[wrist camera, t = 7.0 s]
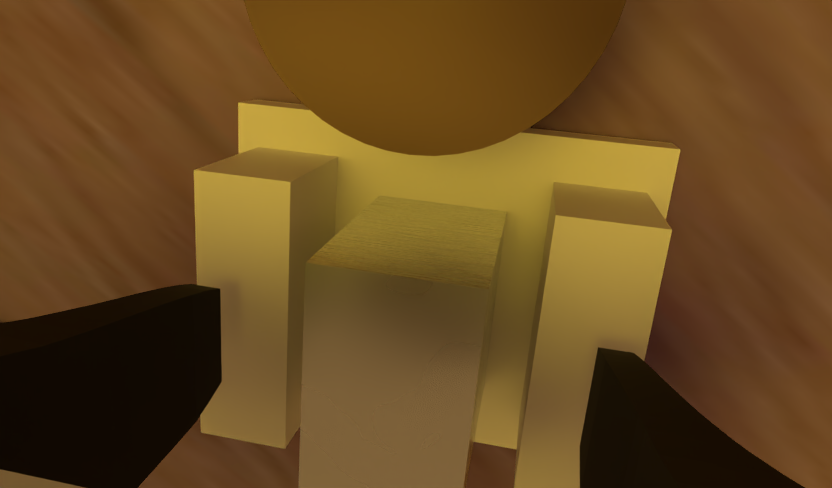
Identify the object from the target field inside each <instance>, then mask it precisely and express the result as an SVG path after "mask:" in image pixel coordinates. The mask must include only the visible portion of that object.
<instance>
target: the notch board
mask: <svg viewBox="0 0 832 488" xmlns="http://www.w3.org/2000/svg"><path fill="white" fill-rule="evenodd" d="M238 138H239V154H237V155H234V156H232V157H229V158H226V159H223V160H220V161H217V162H215V163H212V164H209V165H206V166H203V167H201V168H198V169H195V170H194V198H195V235H196V271H197V285H200V286H207V287H213V288H220V298H221V364H222V382H221V384H220V385H219V387H218V389H217V390H216V392H215V393H214V395H213V397H212V398H211V400H210V402H209V403H208V405H207V406H206V408H205V409H204V411H203V412H202V413H201V415H200V418H201V433H206V434H211V435H216V436H221V437H226V438H231V439H237V440H242V441H247V442H252V443H257V444H262V445H268V446H273V447H278V448H283V449H285V448H286V447H287V445H288V444H289V442H290V441H291V439H292V438H293V436H294V435H295V433H296V431H297V430H298V428H299V427H300V422H301V389H302V356H303V324H304V291H305V262H306V261H308V260H309V259H310V258H311V257H312V256H313V255H314V254H315V253H316V252H317V251H319V250H320V249H321V248H322V247H323V246H324V245H325V244H326V243H327V242H329V241H330V240H331V239H332V238H333V237H334V236H335V235H336V234H337V233H339V232H340V231H341V230H342V229H343V228H344V227H345V226H346V225H347V224H349V223H350V222H351V221H352V220H353V219H354V218H355V217H356V216H357V215H358V214H360V213H361V212H362V211H363V210H364V209H365V208H366V207H367V206H368V205H370V204H371V203H372V202H373V201H374V200H375V199H376V198H377V197H378V196H380V195H382V196H390V197H397V198H405V199H413V200H421V201H429V202H437V203H444V204H452V205H460V206H468V207H476V208H484V209H491V210H499V211H507V216H506V224H505V231H504V239H503V247H502V254H501V262H500V270H499V277H498V285H497V293H496V300H495V308H494V316H493V323H492V331H491V339H490V346H489V354H488V362H487V369H486V377H485V385H484V390H483V396H482V401H481V407H480V412H479V417H478V423H477V428H476V434H475V439H474V442H478V443H484V444H489V445H495V446H500V447H506V448H511V449H516V463H515V476H514V488H580V441H581V436H582V431H583V425H584V420H585V414H586V409H587V404H588V398H589V393H590V388H591V382H592V377H593V371H594V366H595V361H596V355H597V350H598V347H600V348H606V349H613V350H619V351H625V352H632V353H635V354H636V355H637V356H639V357H640V358H641V359H642V360H643V361H644V360H645V355H646V350H647V346H648V341H649V336H650V332H651V327H652V322H653V317H654V313H655V308H656V303H657V299H658V294H659V289H660V284H661V280H662V275H663V270H664V266H665V261H666V256H667V251H668V247H669V242H670V237H671V233H672V229H671V227H670V226H669V224H668V223H667V221H666V217H667V212H668V207H669V202H670V197H671V193H672V188H673V183H674V178H675V173H676V169H677V164H678V159H679V154H680V149H679V148H678V147H677V146H675V145H674V144H673V143H670V142H660V141H651V140H641V139H631V138H622V137H612V136H603V135H593V134H584V133H574V132H565V131H555V130H545V129H536V128H528V129H526V130H524V131H522V132H520V133H518V134H516V135H514V136H513V137H511V138H509V139H507V140H505V141H502V142H499V143H496V144H494V145H491V146H488V147H485V148H482V149H478V150H474V151H469V152H465V153H460V154H452V155H440V156H422V155H408V154H402V153H397V152H391V151H386V150H383V149H380V148H377V147H374V146H371V145H367V144H364V143H362V142H360V141H358V140H356V139H354V138H352V137H349V136H347V135H345V134H343V133H341V132H340V131H338V130H337V129H335V128H334V127H332V126H331V125H329V124H327V123H326V122H324V121H323V120H321V119H320V118H319V117H318V116H317V115H315V114H314V113H313V112H312V111H311V110H309V109H308V108H307V107H306V106H305V105H304V104H297V103H288V102H278V101H268V100H259V99H255V100H249V101H244V102H239V103H238Z"/></svg>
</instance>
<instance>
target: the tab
mask: <svg viewBox="0 0 832 488" xmlns="http://www.w3.org/2000/svg"><path fill="white" fill-rule="evenodd" d="M506 216H507V211H499V210H491V209H484V208H476V207H468V206H460V205H452V204H444V203H437V202H429V201H421V200H413V199H405V198H397V197H390V196H382V195H380V196H378V197H377V198H376V199H375V200H374V201H373V202H372V203H371V204H370V205H368V206H367V207H366V208H365V209H364V210H363V211H362V212H361V213H360V214H358V215H357V216H356V217H355V218H354V219H353V220H352V221H351V222H350V223H349V224H347V225H346V226H345V227H344V228H343V229H342V230H341V231H340V232H339V233H337V234H336V235H335V236H334V237H333V238H332V239H331V240H330V241H329V242H327V243H326V244H325V245H324V246H323V247H322V248H321V249H320V250H319V251H317V252H316V253H315V254H314V255H313V256H312V257H311V258H310V259H309V260H308V261H306V262H305V291H304V324H303V356H302V389H301V422H300V455H299V487H298V488H466V483H467V477H468V472H469V467H470V461H471V456H472V450H473V445H474V439H475V434H476V428H477V423H478V417H479V412H480V407H481V401H482V396H483V390H484V385H485V377H486V369H487V362H488V354H489V346H490V339H491V331H492V323H493V316H494V308H495V300H496V293H497V285H498V277H499V270H500V262H501V254H502V247H503V239H504V231H505V224H506Z"/></svg>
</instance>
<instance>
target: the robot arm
mask: <svg viewBox="0 0 832 488" xmlns="http://www.w3.org/2000/svg"><path fill="white" fill-rule="evenodd" d="M221 382H222V364H221V298H220V288H213V287H207V286H200V285H194V284H187V285H177V286H171V287H165V288H161V289H156V290H151V291H147V292H143V293H139V294H134V295H130V296H126V297H122V298H118V299H114V300H110V301H106V302H102V303H98V304H94V305H89V306H85V307H80V308H76V309H71V310H66V311H62V312H57V313H53V314H48V315H44V316H39V317H34V318H29V319H24V320H18V321H12V322H6V323H0V488H138V487H139V485H140V484H141V483H142V482H143V481H144V480H145V479H146V478H147V477H148V475H149V474H150V473H151V472H152V471H153V470H154V469H155V468H156V467H157V465H158V464H159V463H160V462H161V461H162V460H163V459H164V458H165V456H166V455H167V454H168V453H169V452H170V451H171V450H172V449H173V447H174V446H175V445H176V444H177V443H178V442H179V441H180V439H181V438H182V437H183V436H184V435H185V434H186V433H187V431H188V430H189V429H190V428H191V427H192V426H193V424H194V423H195V422H196V421H197V419H198V418H199V416H200V415H201V413H202V412H203V411H204V409H205V408H206V406H207V405H208V403H209V402H210V400H211V398H212V397H213V395H214V393H215V392H216V390H217V389H218V387H219V385H220V384H221ZM580 488H804V487H803V486H801V485H800V484H798V483H796V482H795V481H793V480H791V479H790V478H788V477H786V476H785V475H783V474H782V473H780V472H779V471H777V470H776V469H774V468H773V467H771V466H770V465H768V464H767V463H765V462H764V461H762V460H761V459H759V458H758V457H756V456H755V455H753V454H752V453H750V452H749V451H747V450H746V449H745V448H743V447H742V446H741V445H739V444H738V443H736V442H735V441H734V440H732V439H731V438H730V437H729V436H727V435H726V434H725V433H724V432H722V431H721V430H720V429H719V428H717V427H716V426H715V425H714V424H712V423H711V422H710V421H709V420H707V419H706V418H705V417H704V416H703V415H702V414H700V413H699V412H698V411H697V410H696V409H695V408H693V407H692V406H691V405H690V404H689V403H688V402H687V401H686V400H685V399H683V398H682V397H681V396H680V395H679V394H678V393H677V392H676V391H675V390H674V389H673V388H672V387H671V386H669V385H668V384H667V383H666V382H665V381H664V380H663V379H662V378H661V377H660V376H659V375H658V374H657V373H656V372H655V371H654V370H653V369H652V368H651V367H650V366H648V365H647V364H646V363H645V362H644V361H643V360H642V359H641V358H640V357H639V356H637V355H636V354H635V353H632V352H625V351H619V350H613V349H606V348H600V347H598V350H597V355H596V361H595V366H594V371H593V377H592V382H591V388H590V393H589V398H588V404H587V409H586V414H585V420H584V425H583V431H582V436H581V441H580Z"/></svg>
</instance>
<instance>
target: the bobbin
mask: <svg viewBox="0 0 832 488" xmlns="http://www.w3.org/2000/svg"><path fill="white" fill-rule="evenodd" d="M244 2H245V6H246V9H247V12H248V16H249V19H250V22H251V25H252V27H253V29H254V32H255V34H256V36H257V39H258V41H259V44H260V46H261V47H262V49H263V51H264V53H265V55H266V56H267V58H268V60H269V62H270V63H271V65H272V67H273V68H274V70H275V71H276V72H277V74H278V75H279V76H280V78H281V79H282V81H283V82H284V83H285V85H286V86H287V87H288V88H289V89H290V91H291V92H292V93H293V94H294V95H295V96H296V97H297V98H298V99H299V100H300V101H301V102H302V103H303V104H304V105H305V106H306V107H307V108H308V109H309V110H311V111H312V112H313V113H314V114H315V115H317V116H318V117H319V118H320V119H321V120H323V121H324V122H326V123H327V124H329V125H331V126H332V127H334V128H335V129H337V130H338V131H340V132H341V133H343V134H345V135H347V136H349V137H352V138H354V139H356V140H358V141H360V142H362V143H364V144H367V145H371V146H374V147H377V148H380V149H383V150H386V151H391V152H397V153H402V154H408V155H422V156H440V155H452V154H460V153H465V152H469V151H474V150H478V149H482V148H485V147H488V146H491V145H494V144H496V143H499V142H502V141H505V140H507V139H509V138H511V137H513V136H514V135H516V134H518V133H520V132H522V131H524V130H526V129H528V128H529V127H531V126H532V125H534V124H535V123H537V122H538V121H540V120H541V119H543V118H544V117H545V116H547V115H548V114H550V113H551V112H552V111H553V110H554V109H555V108H556V107H558V106H559V105H560V104H561V103H562V102H563V101H564V100H565V99H567V98H568V97H569V96H570V95H571V94H572V92H573V91H574V90H575V89H576V88H577V87H578V86H579V84H580V83H581V82H582V81H583V80H584V79H585V78H586V76H587V75H588V74H589V72H590V71H591V70H592V68H593V67H594V65H595V64H596V62H597V61H598V59H599V58H600V56H601V55H602V53H603V52H604V50H605V48H606V46H607V44H608V42H609V40H610V38H611V36H612V34H613V32H614V30H615V29H616V27H617V24H618V22H619V19H620V16H621V13H622V11H623V8H624V5H625V3H626V0H244Z"/></svg>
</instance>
